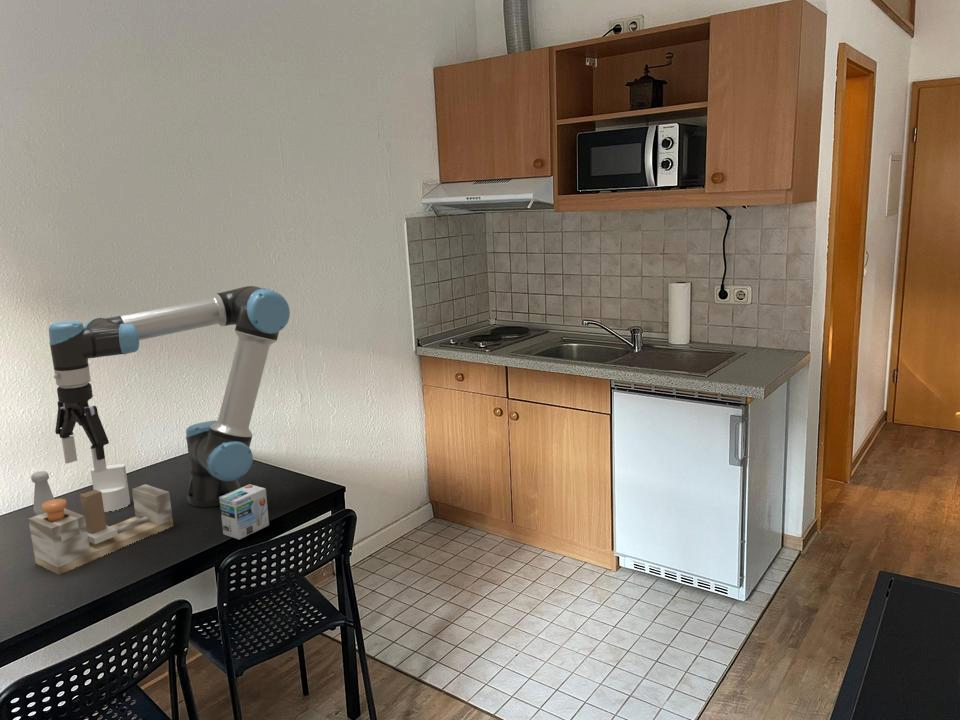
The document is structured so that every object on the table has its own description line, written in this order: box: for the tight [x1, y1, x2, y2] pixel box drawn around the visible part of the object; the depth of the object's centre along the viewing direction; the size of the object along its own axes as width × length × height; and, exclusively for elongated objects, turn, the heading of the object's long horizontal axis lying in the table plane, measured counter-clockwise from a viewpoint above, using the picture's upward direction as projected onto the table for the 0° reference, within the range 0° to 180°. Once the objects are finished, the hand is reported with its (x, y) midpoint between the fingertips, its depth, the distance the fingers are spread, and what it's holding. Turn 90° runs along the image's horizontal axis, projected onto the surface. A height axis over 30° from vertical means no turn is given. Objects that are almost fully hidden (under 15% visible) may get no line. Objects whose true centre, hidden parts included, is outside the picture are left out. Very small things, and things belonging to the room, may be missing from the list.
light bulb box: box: [219, 483, 270, 540], centre depth 201 cm, size 11×7×11 cm, turn 148°
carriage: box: [79, 489, 118, 544], centre depth 192 cm, size 6×9×12 cm, turn 56°
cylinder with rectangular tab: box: [90, 462, 131, 513], centre depth 220 cm, size 9×9×12 cm
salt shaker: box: [30, 470, 55, 516], centre depth 214 cm, size 6×6×13 cm
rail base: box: [27, 483, 174, 576], centre depth 195 cm, size 31×11×12 cm, turn 146°
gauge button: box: [42, 498, 68, 522], centre depth 184 cm, size 5×5×5 cm
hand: (85, 466), depth 189 cm, fingers open, 13 cm apart
